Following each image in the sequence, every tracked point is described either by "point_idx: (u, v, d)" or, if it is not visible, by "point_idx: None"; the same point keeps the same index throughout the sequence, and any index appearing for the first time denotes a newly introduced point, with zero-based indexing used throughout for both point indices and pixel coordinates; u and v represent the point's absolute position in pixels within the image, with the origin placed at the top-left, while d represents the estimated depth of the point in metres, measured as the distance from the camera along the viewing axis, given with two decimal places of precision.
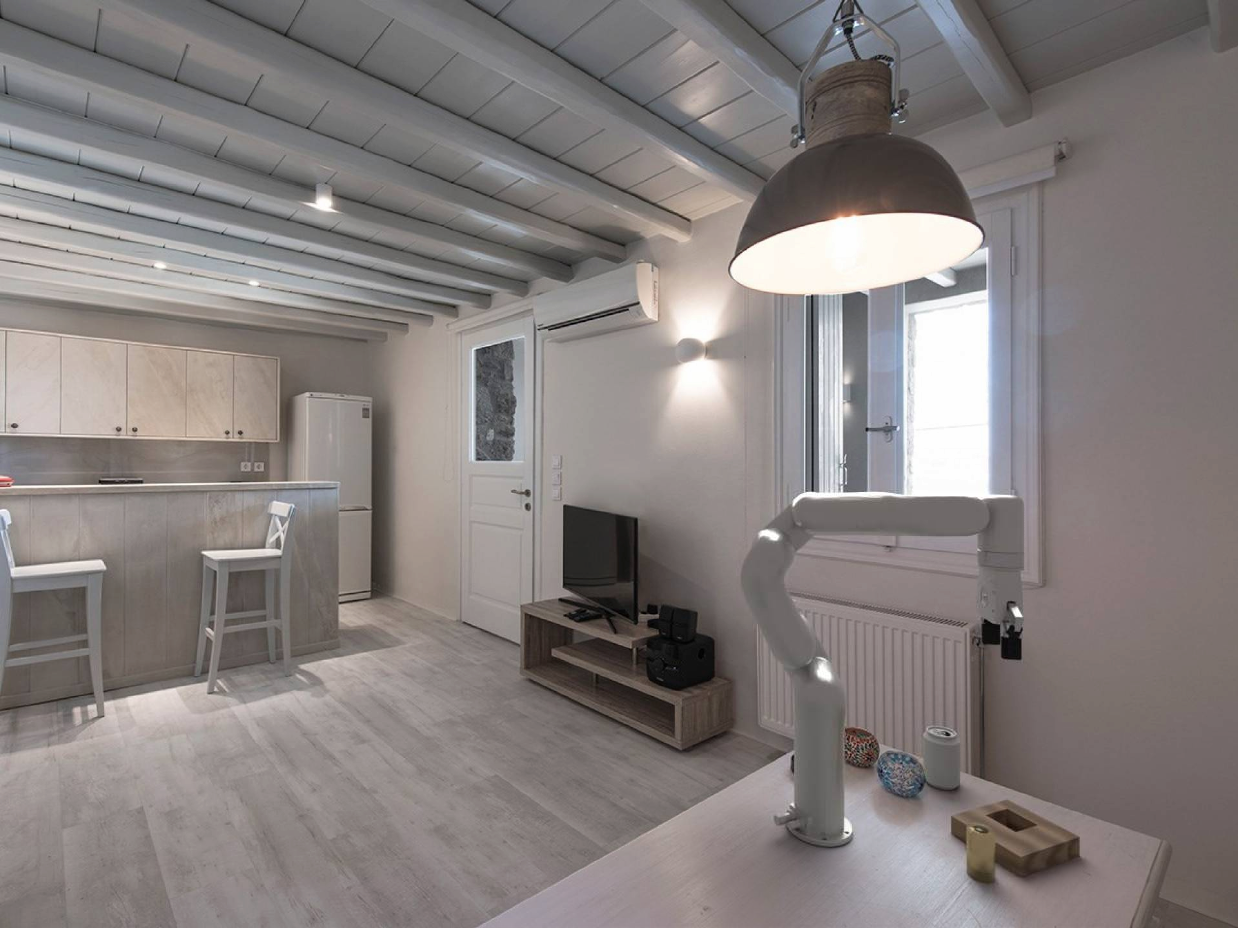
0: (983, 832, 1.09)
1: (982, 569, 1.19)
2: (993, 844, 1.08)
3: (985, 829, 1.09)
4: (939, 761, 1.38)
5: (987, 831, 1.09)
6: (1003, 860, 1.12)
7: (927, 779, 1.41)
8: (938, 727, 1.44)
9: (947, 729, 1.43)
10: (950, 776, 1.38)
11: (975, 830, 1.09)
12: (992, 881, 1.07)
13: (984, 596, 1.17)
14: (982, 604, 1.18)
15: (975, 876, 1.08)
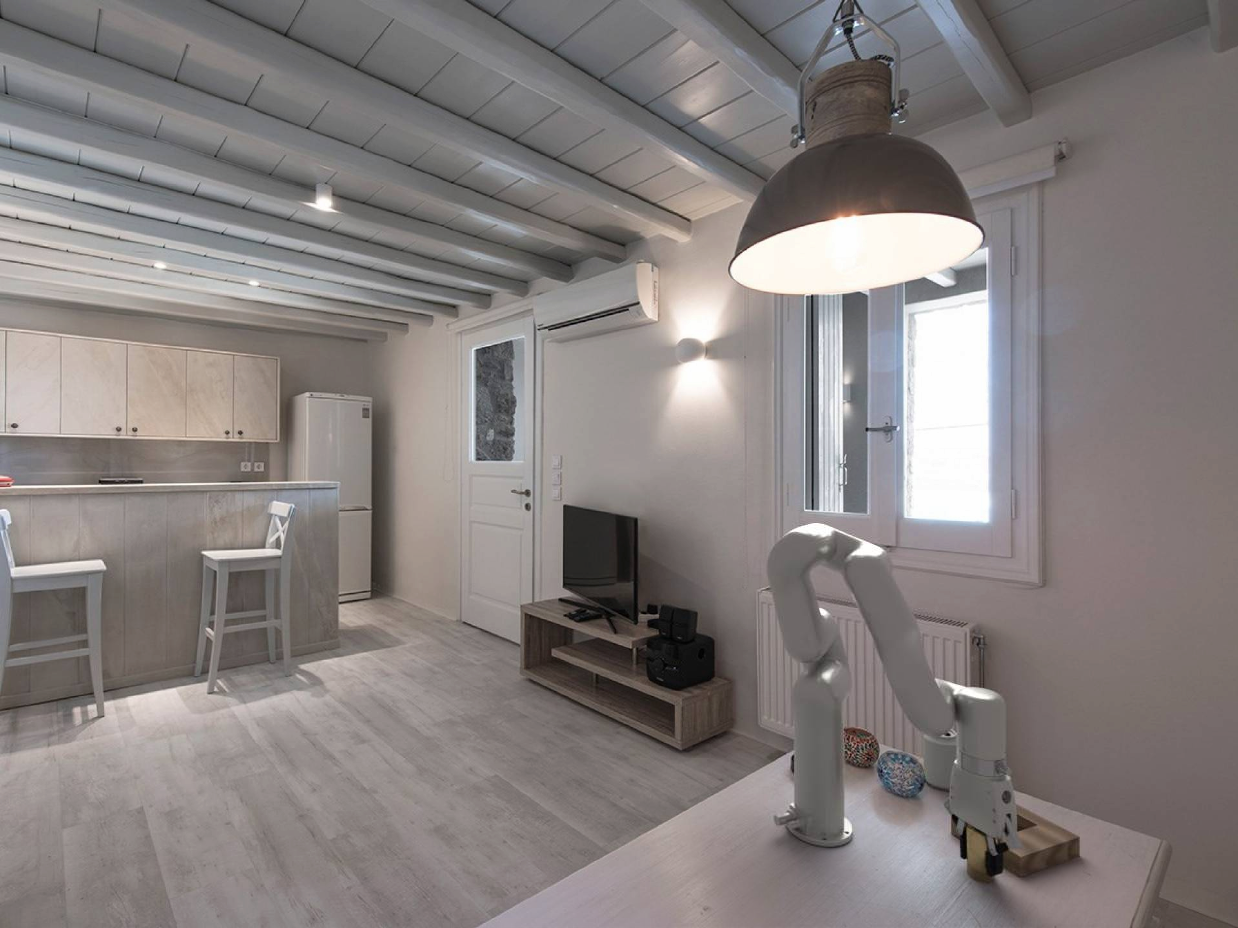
0: (983, 832, 1.09)
1: None
2: None
3: None
4: (939, 761, 1.38)
5: None
6: (1003, 860, 1.12)
7: (927, 779, 1.41)
8: None
9: None
10: (950, 776, 1.38)
11: (975, 830, 1.09)
12: (992, 881, 1.07)
13: None
14: None
15: (975, 876, 1.08)
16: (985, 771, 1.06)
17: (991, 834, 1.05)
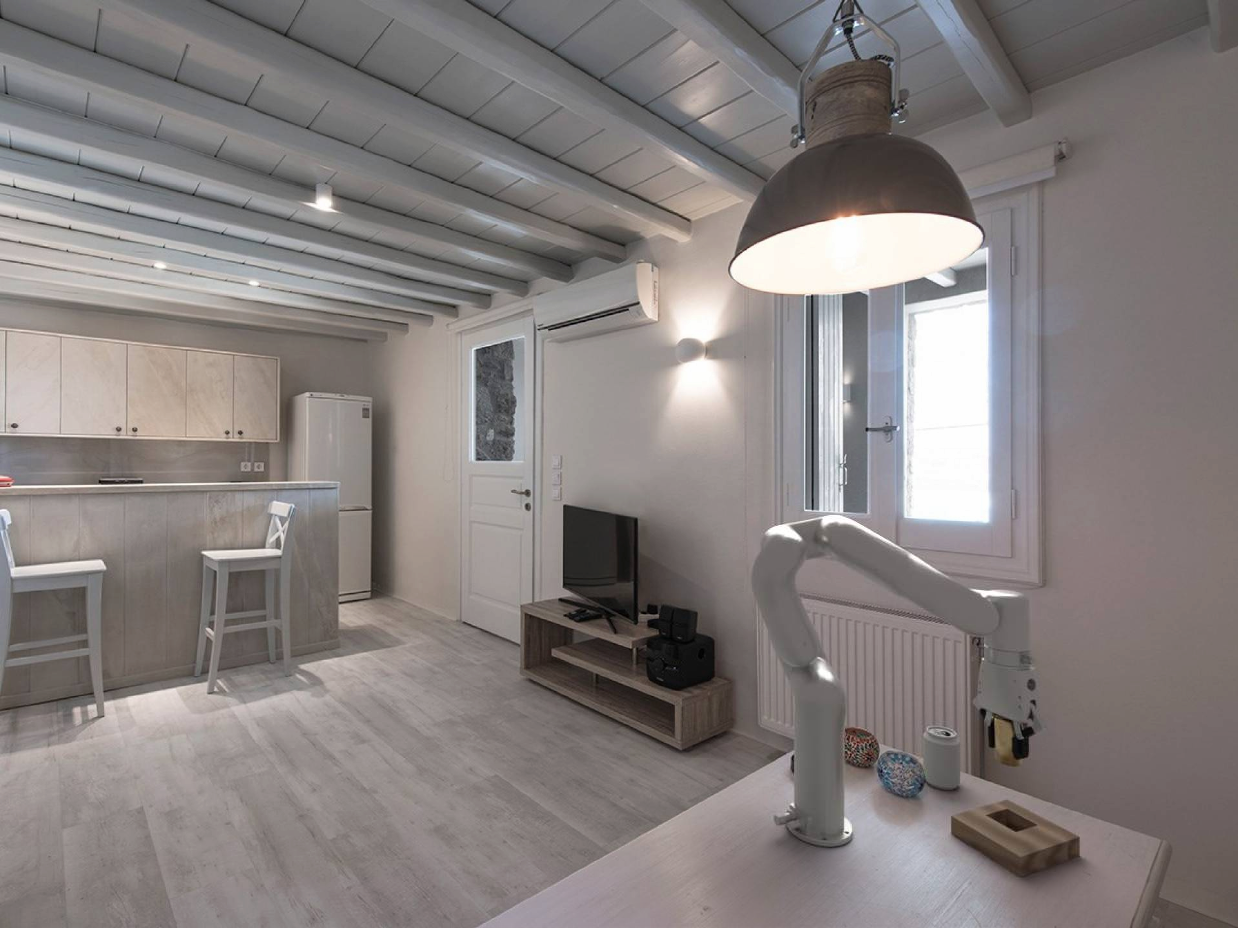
0: (1010, 720, 1.18)
1: None
2: None
3: None
4: (939, 762, 1.38)
5: None
6: (1003, 860, 1.12)
7: (927, 779, 1.41)
8: (938, 727, 1.44)
9: (947, 729, 1.43)
10: (950, 776, 1.38)
11: (1003, 719, 1.18)
12: (1019, 764, 1.16)
13: None
14: None
15: (1003, 761, 1.17)
16: (1011, 662, 1.15)
17: (1017, 719, 1.15)
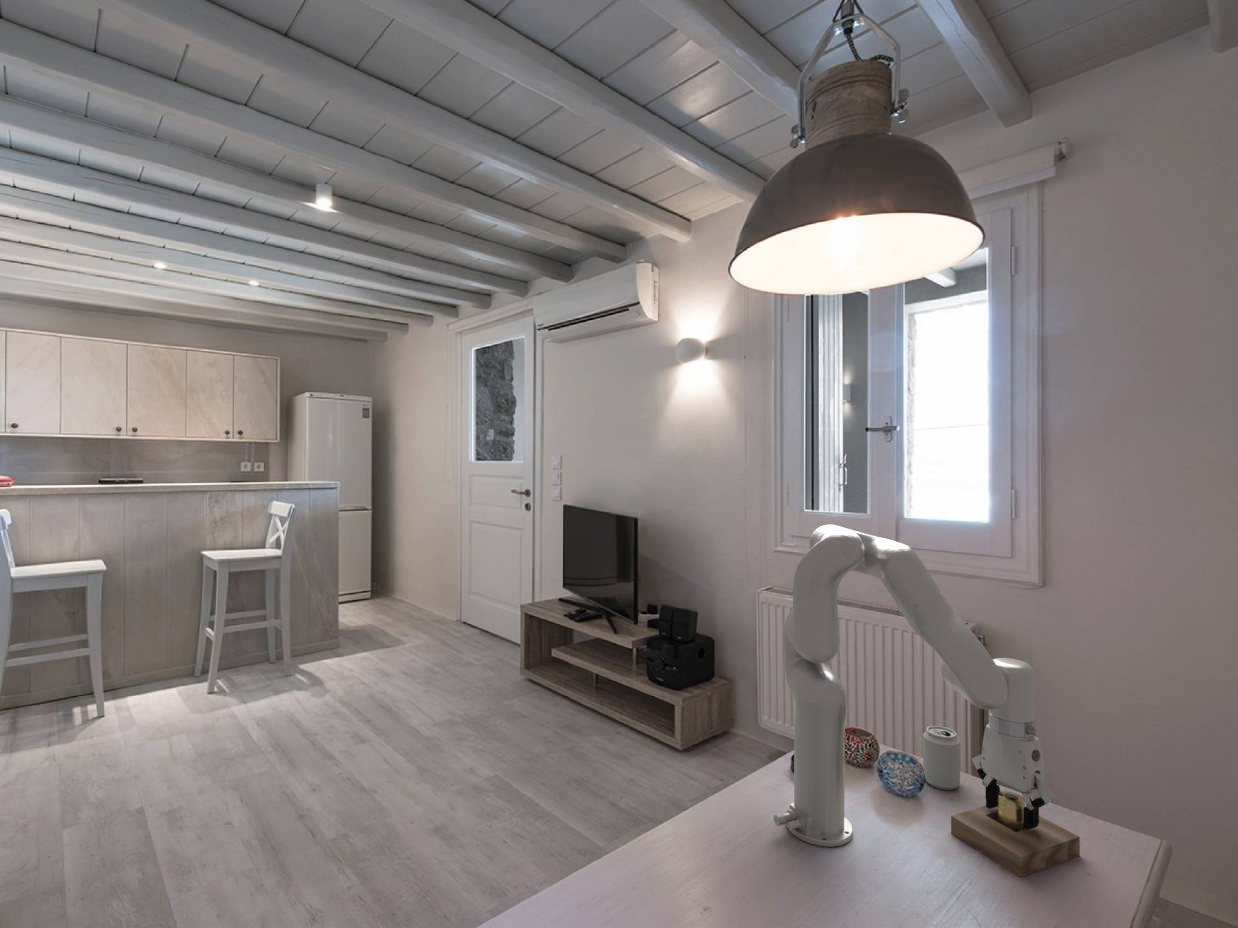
0: (1013, 799, 1.20)
1: None
2: None
3: (1015, 797, 1.20)
4: (939, 762, 1.38)
5: (1017, 798, 1.20)
6: (1003, 860, 1.12)
7: (927, 779, 1.41)
8: (938, 727, 1.44)
9: (947, 729, 1.43)
10: (950, 776, 1.38)
11: (1006, 797, 1.20)
12: None
13: None
14: None
15: None
16: (1016, 732, 1.17)
17: (1021, 789, 1.16)
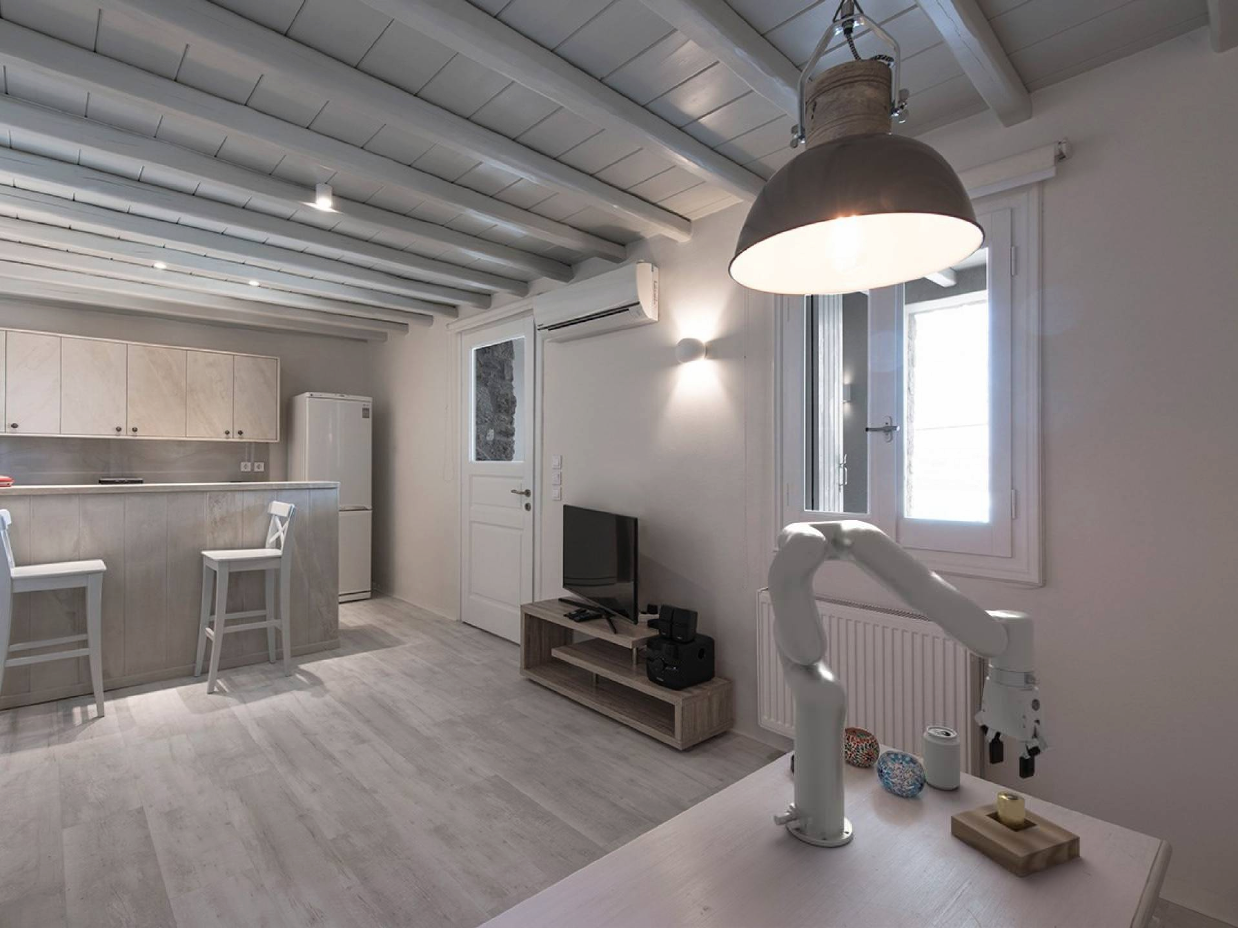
0: (1013, 799, 1.20)
1: None
2: (1023, 809, 1.18)
3: (1015, 797, 1.20)
4: (939, 762, 1.38)
5: (1017, 798, 1.20)
6: (1003, 860, 1.12)
7: (927, 779, 1.41)
8: (938, 727, 1.44)
9: (947, 729, 1.43)
10: (950, 776, 1.38)
11: (1006, 797, 1.20)
12: None
13: None
14: None
15: None
16: (1016, 682, 1.17)
17: (1021, 738, 1.17)
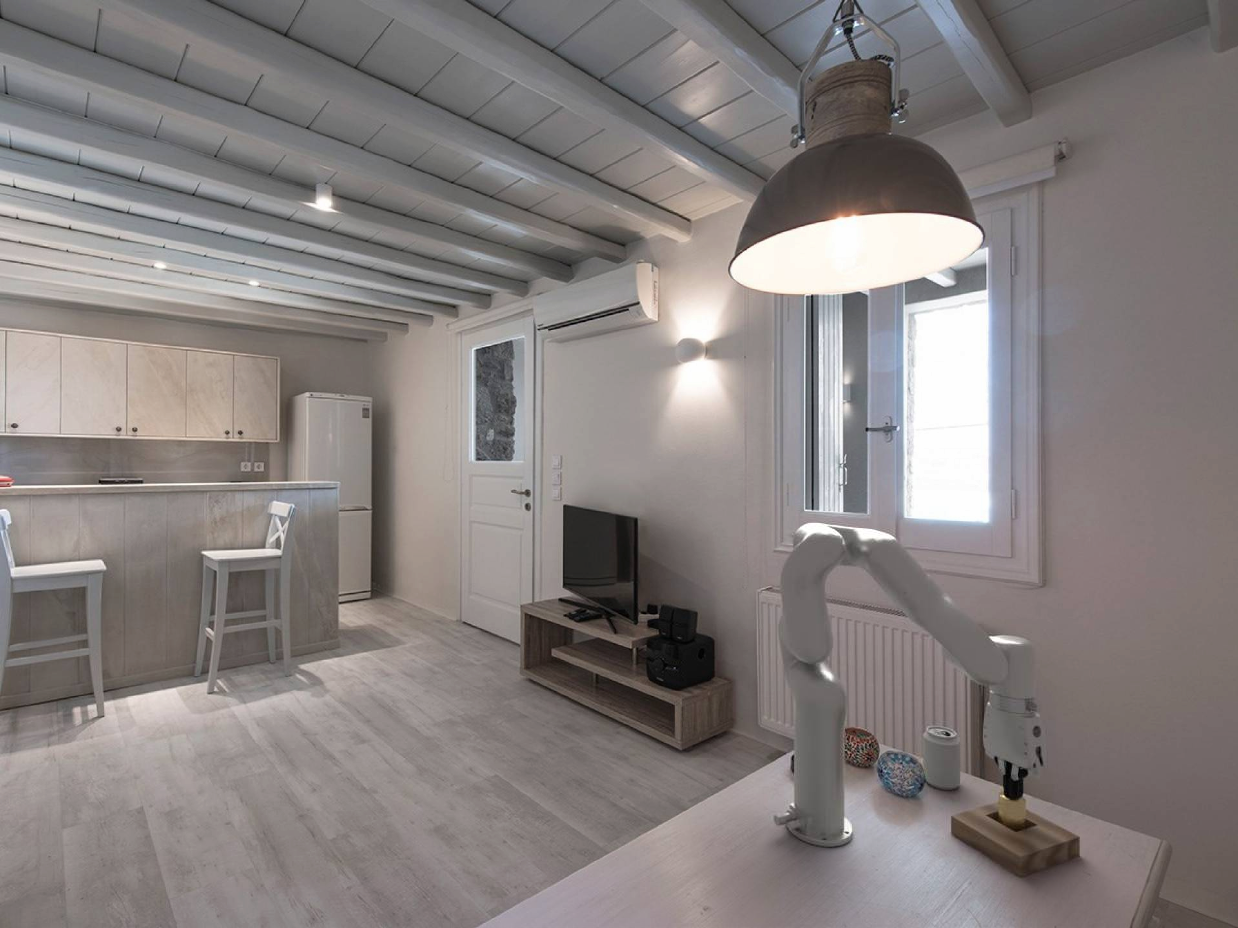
0: (1015, 799, 1.19)
1: None
2: (1024, 809, 1.18)
3: None
4: (939, 762, 1.38)
5: (1018, 798, 1.20)
6: (1003, 860, 1.12)
7: (927, 779, 1.41)
8: (938, 727, 1.44)
9: (947, 729, 1.43)
10: (950, 776, 1.38)
11: (1008, 797, 1.20)
12: None
13: None
14: None
15: None
16: (1017, 709, 1.17)
17: (1023, 765, 1.16)
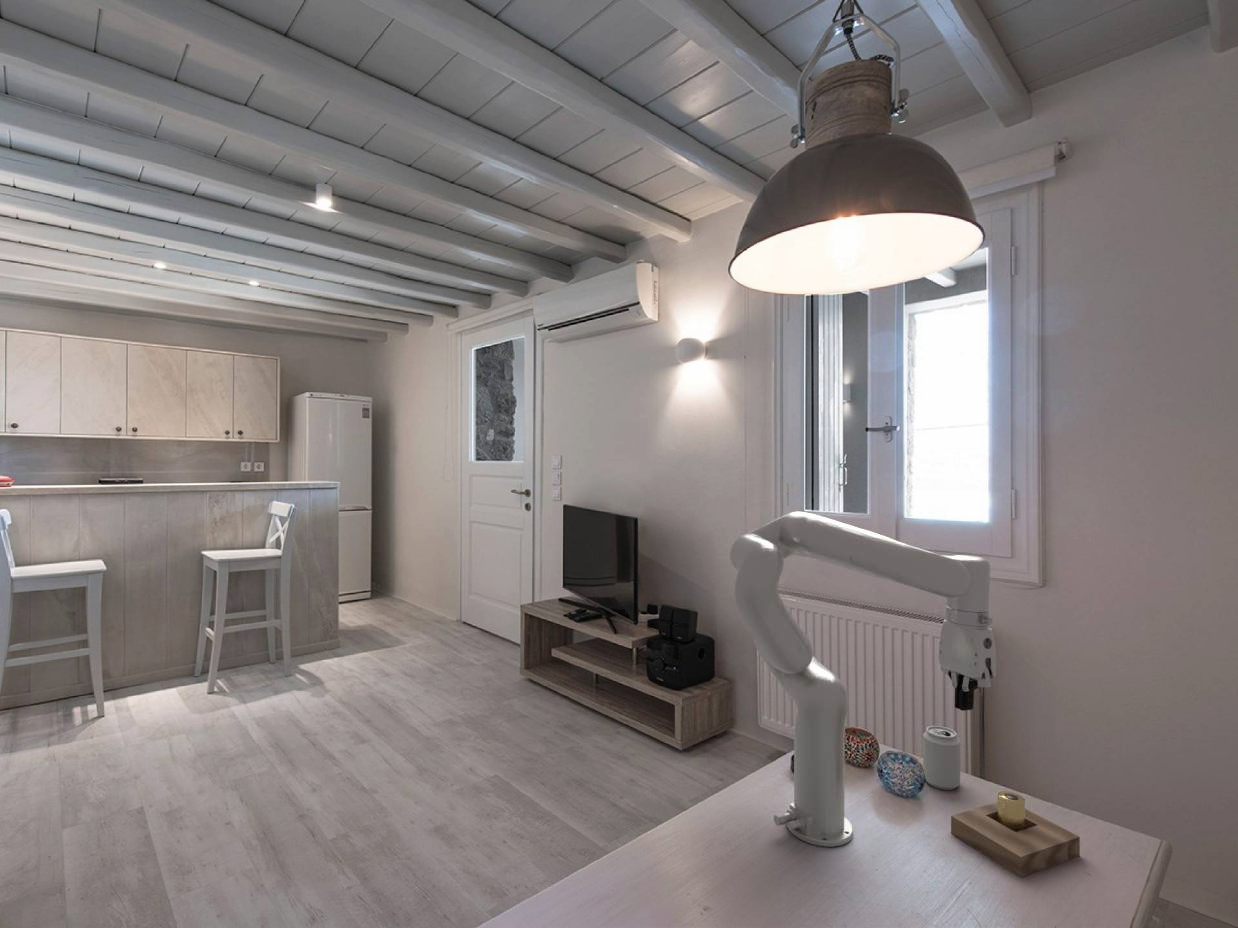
0: (1013, 799, 1.20)
1: None
2: (1023, 809, 1.18)
3: (1015, 797, 1.20)
4: (939, 762, 1.38)
5: (1017, 798, 1.20)
6: (1003, 860, 1.12)
7: (927, 779, 1.41)
8: (938, 727, 1.44)
9: (947, 729, 1.43)
10: (950, 776, 1.38)
11: (1006, 797, 1.20)
12: None
13: None
14: None
15: None
16: (969, 621, 1.22)
17: (973, 676, 1.21)
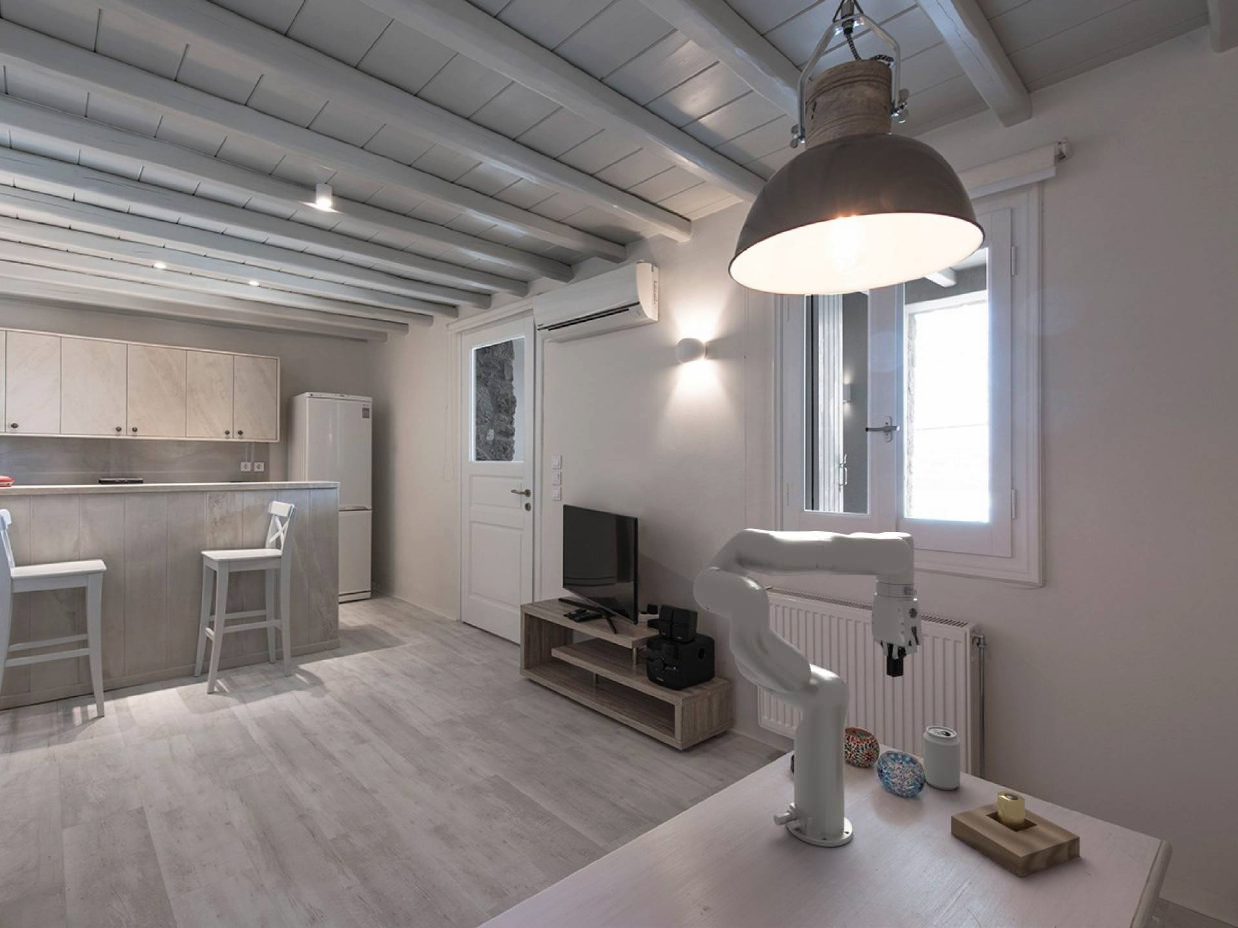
0: (1013, 799, 1.20)
1: None
2: (1023, 809, 1.18)
3: (1015, 797, 1.20)
4: (939, 762, 1.38)
5: (1017, 798, 1.20)
6: (1003, 860, 1.12)
7: (927, 779, 1.41)
8: (938, 727, 1.44)
9: (947, 729, 1.43)
10: (950, 776, 1.38)
11: (1006, 797, 1.20)
12: None
13: None
14: None
15: None
16: (896, 593, 1.30)
17: (900, 644, 1.30)
